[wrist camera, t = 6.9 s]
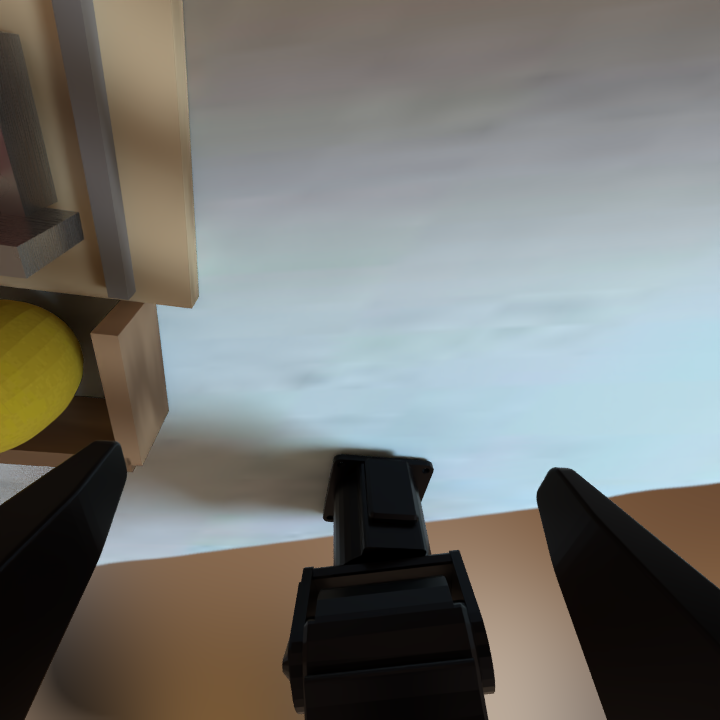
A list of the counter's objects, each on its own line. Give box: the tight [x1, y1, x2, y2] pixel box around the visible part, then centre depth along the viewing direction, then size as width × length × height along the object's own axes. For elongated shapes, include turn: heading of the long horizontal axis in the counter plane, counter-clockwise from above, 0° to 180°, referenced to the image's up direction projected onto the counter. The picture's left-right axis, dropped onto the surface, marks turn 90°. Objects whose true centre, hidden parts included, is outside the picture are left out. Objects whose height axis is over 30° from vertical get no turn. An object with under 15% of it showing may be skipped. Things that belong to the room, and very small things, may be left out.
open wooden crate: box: [0, 300, 169, 472], centre depth 19 cm, size 8×10×4 cm
